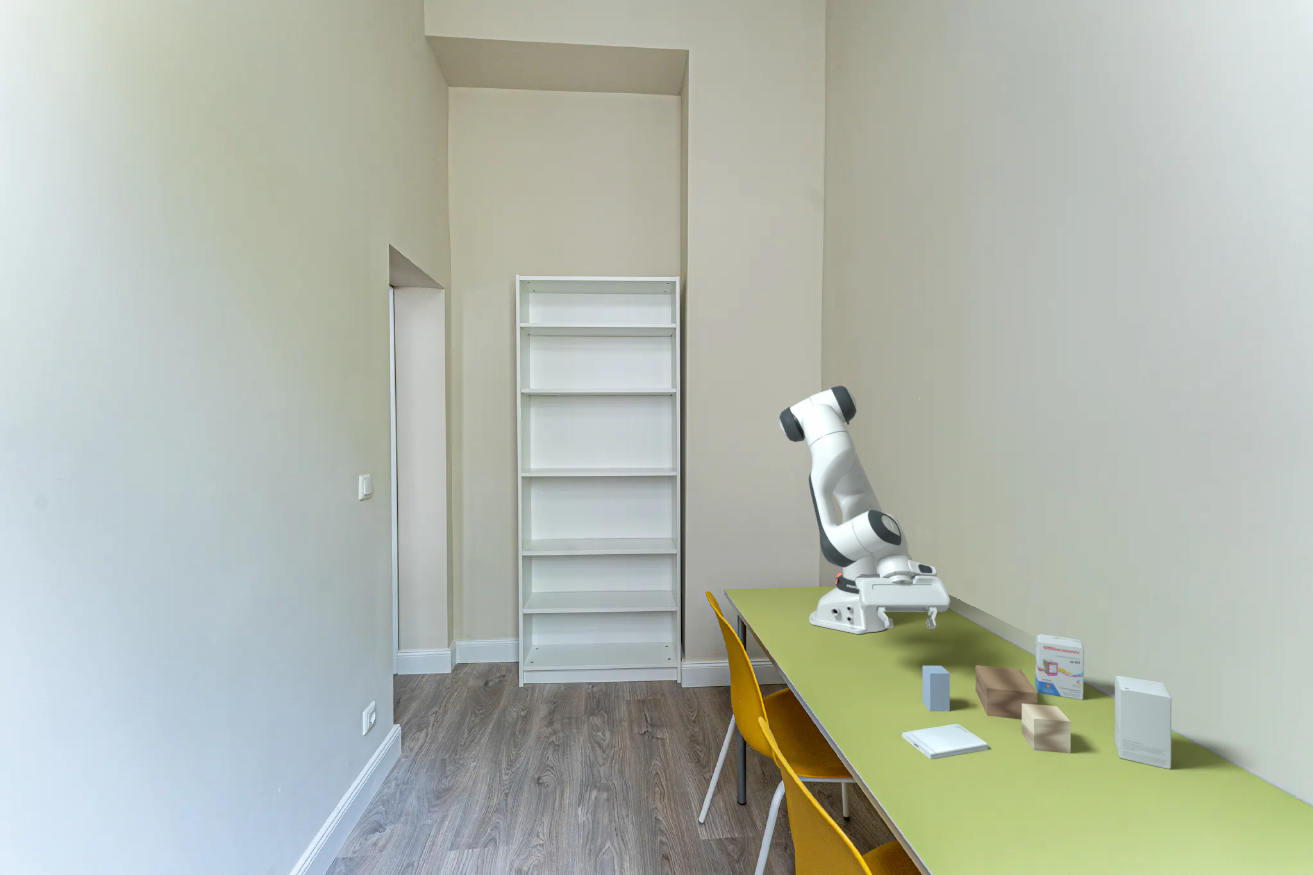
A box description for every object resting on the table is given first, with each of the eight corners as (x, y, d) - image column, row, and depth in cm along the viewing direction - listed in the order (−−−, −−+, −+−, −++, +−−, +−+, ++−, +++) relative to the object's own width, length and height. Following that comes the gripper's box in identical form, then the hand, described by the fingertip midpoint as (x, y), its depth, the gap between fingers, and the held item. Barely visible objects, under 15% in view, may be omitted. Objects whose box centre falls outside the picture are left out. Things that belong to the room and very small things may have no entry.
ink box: (1037, 693, 134) (1037, 640, 134) (1035, 684, 139) (1035, 633, 139) (1084, 700, 130) (1084, 646, 130) (1080, 691, 135) (1080, 638, 135)
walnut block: (987, 716, 125) (987, 687, 125) (975, 691, 136) (975, 665, 136) (1037, 722, 122) (1037, 693, 122) (1021, 696, 133) (1021, 669, 133)
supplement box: (1172, 770, 105) (1172, 698, 104) (1118, 758, 108) (1118, 688, 108) (1164, 750, 111) (1165, 682, 110) (1113, 739, 115) (1114, 673, 114)
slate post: (922, 702, 131) (922, 665, 131) (941, 702, 131) (941, 665, 130) (930, 711, 127) (930, 673, 127) (949, 711, 127) (949, 673, 126)
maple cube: (1033, 750, 112) (1034, 718, 111) (1021, 734, 117) (1021, 703, 117) (1070, 753, 110) (1070, 721, 110) (1056, 737, 116) (1056, 706, 116)
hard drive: (956, 722, 120) (901, 730, 117) (988, 743, 112) (930, 753, 109) (956, 730, 120) (901, 739, 117) (988, 752, 112) (930, 762, 109)
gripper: (855, 567, 147) (867, 620, 138) (942, 567, 146) (960, 621, 136) (851, 581, 152) (862, 633, 142) (935, 581, 150) (952, 633, 141)
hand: (911, 627), depth 139 cm, fingers open, 8 cm apart
